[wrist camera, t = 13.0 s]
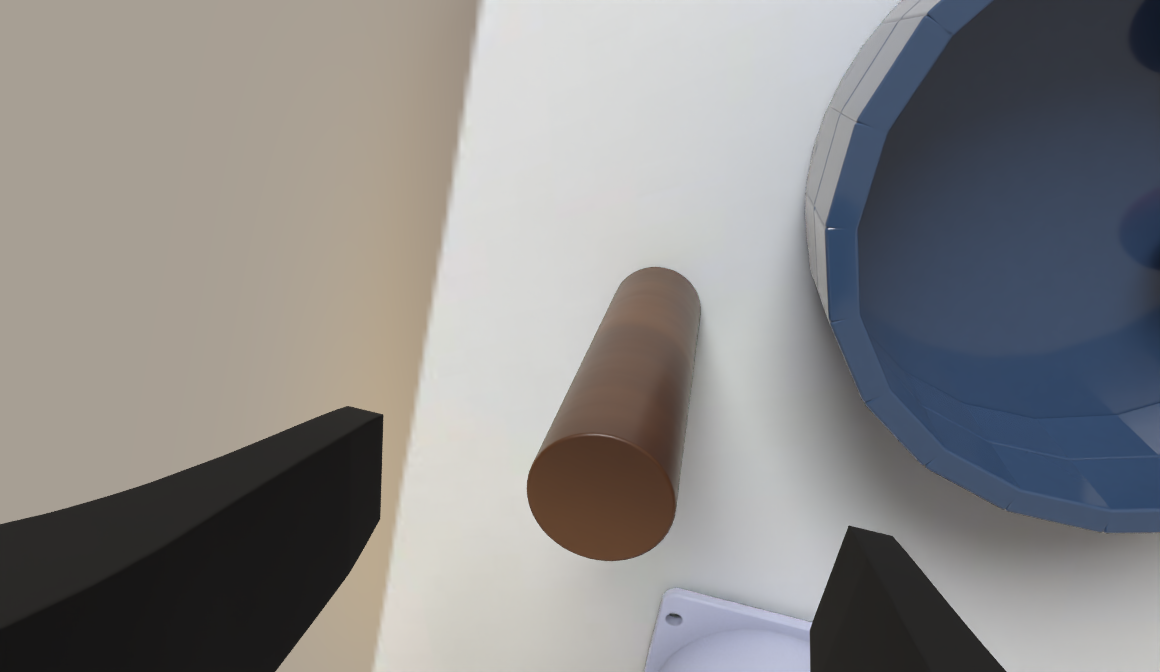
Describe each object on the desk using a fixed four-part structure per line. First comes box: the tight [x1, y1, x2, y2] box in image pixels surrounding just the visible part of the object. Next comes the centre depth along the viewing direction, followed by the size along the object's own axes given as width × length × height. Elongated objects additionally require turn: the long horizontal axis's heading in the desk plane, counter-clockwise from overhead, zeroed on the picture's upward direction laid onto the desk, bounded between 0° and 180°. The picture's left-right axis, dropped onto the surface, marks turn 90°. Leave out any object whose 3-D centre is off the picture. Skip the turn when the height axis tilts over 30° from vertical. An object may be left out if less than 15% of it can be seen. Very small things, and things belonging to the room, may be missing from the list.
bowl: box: [805, 0, 1160, 533], centre depth 14 cm, size 12×12×4 cm
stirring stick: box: [527, 267, 701, 561], centre depth 15 cm, size 2×2×9 cm
